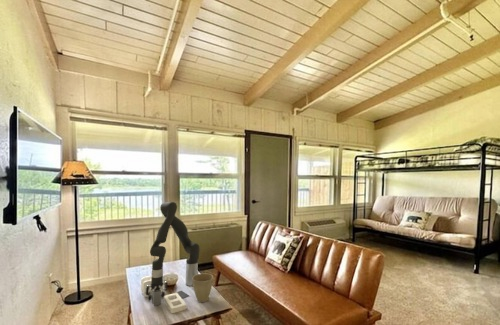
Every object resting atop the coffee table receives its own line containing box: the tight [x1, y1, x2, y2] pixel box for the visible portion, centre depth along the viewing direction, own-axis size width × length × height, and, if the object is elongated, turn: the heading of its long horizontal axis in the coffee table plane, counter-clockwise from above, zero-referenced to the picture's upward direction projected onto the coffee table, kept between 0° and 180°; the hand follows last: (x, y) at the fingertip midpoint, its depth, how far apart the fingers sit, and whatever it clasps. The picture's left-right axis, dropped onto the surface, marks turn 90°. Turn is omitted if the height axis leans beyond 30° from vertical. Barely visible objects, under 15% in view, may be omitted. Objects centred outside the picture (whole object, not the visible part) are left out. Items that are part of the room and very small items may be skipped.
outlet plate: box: [162, 292, 188, 314], centre depth 175 cm, size 10×20×3 cm, turn 34°
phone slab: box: [175, 290, 190, 300], centre depth 190 cm, size 6×11×1 cm, turn 46°
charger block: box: [151, 289, 162, 307], centre depth 177 cm, size 4×4×9 cm
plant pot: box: [192, 272, 214, 303], centre depth 183 cm, size 15×15×16 cm
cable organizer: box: [140, 275, 165, 298], centre depth 191 cm, size 15×11×12 cm
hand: (156, 298), depth 176 cm, fingers open, 8 cm apart
